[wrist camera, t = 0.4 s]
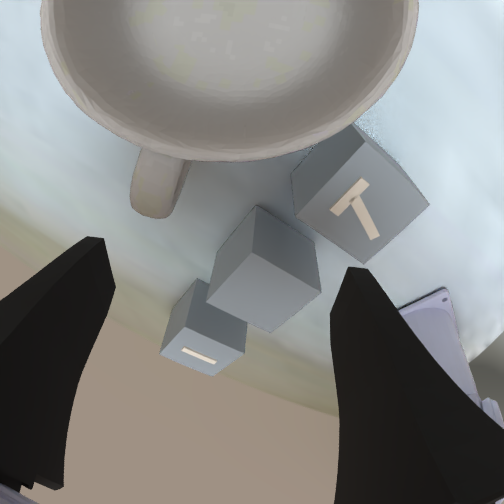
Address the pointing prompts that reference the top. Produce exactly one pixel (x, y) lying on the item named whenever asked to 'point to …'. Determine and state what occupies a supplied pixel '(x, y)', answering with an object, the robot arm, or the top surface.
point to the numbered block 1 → (203, 333)
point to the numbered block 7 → (354, 193)
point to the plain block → (264, 272)
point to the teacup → (222, 76)
